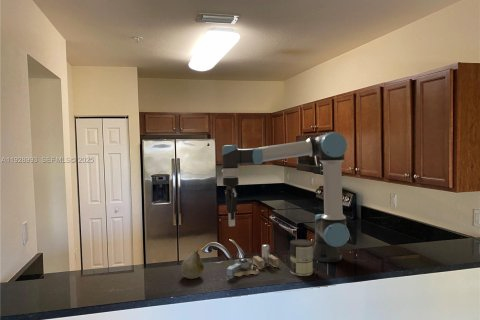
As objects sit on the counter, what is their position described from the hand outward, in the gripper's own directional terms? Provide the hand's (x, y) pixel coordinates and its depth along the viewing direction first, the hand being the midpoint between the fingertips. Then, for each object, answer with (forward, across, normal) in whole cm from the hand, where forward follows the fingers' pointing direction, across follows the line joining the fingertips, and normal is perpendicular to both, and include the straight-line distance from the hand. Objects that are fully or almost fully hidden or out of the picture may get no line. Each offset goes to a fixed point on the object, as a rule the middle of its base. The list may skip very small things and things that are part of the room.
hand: (231, 225), depth 170 cm
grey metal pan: (+18, +10, -1) cm, 21 cm away
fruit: (+20, +7, -22) cm, 30 cm away
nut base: (+20, +8, +2) cm, 22 cm away
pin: (+20, +4, +16) cm, 26 cm away
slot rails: (+20, +4, +15) cm, 26 cm away
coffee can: (+21, +18, +27) cm, 39 cm away
